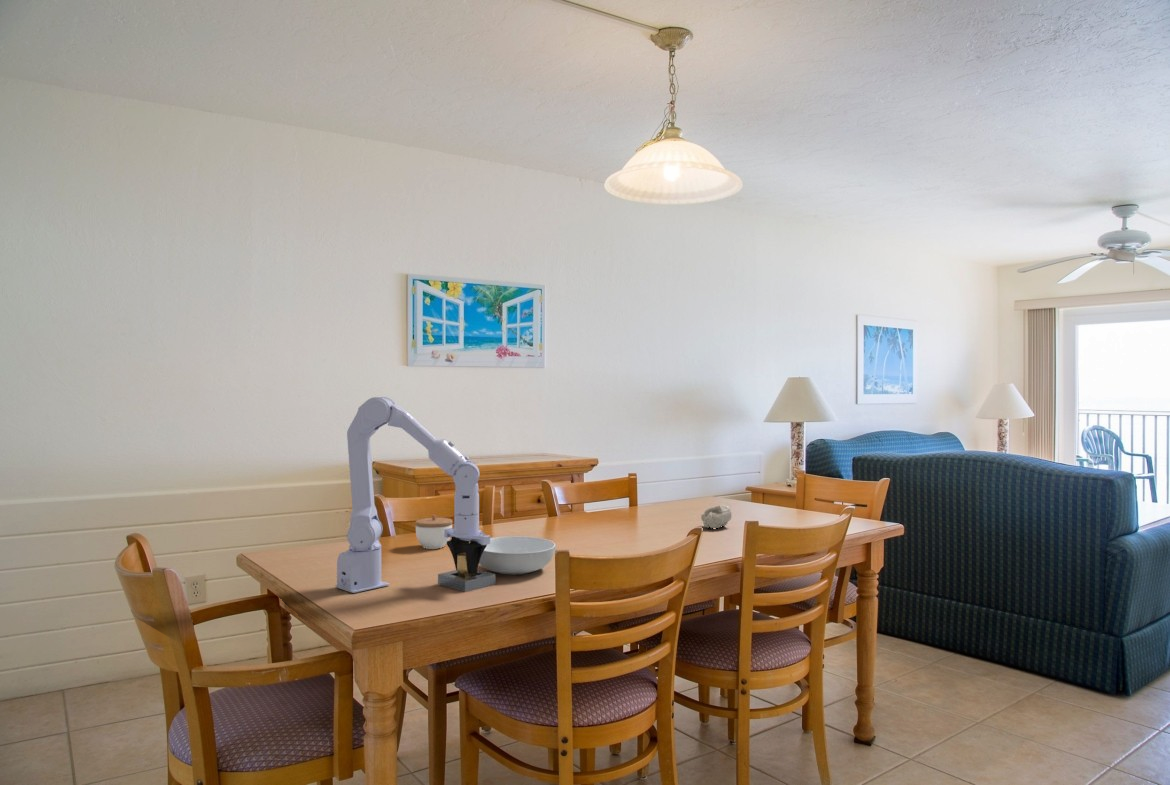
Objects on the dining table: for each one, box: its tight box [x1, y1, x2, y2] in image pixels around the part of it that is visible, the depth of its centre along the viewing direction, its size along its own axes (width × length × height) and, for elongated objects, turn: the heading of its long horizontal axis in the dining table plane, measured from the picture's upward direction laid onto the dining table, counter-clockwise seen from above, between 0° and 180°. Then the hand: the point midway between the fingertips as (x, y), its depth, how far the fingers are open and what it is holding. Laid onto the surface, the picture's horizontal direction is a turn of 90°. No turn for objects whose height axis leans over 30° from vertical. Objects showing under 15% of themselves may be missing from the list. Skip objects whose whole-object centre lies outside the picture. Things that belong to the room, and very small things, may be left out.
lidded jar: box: [414, 514, 454, 550], centre depth 219 cm, size 11×11×9 cm
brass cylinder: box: [457, 553, 475, 578], centre depth 175 cm, size 4×4×6 cm
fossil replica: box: [700, 503, 733, 529], centre depth 251 cm, size 12×8×10 cm
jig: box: [437, 569, 496, 593], centre depth 176 cm, size 9×10×2 cm
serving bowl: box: [479, 535, 556, 576], centre depth 189 cm, size 21×21×7 cm
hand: (466, 571), depth 176 cm, fingers closed on brass cylinder, 4 cm apart
